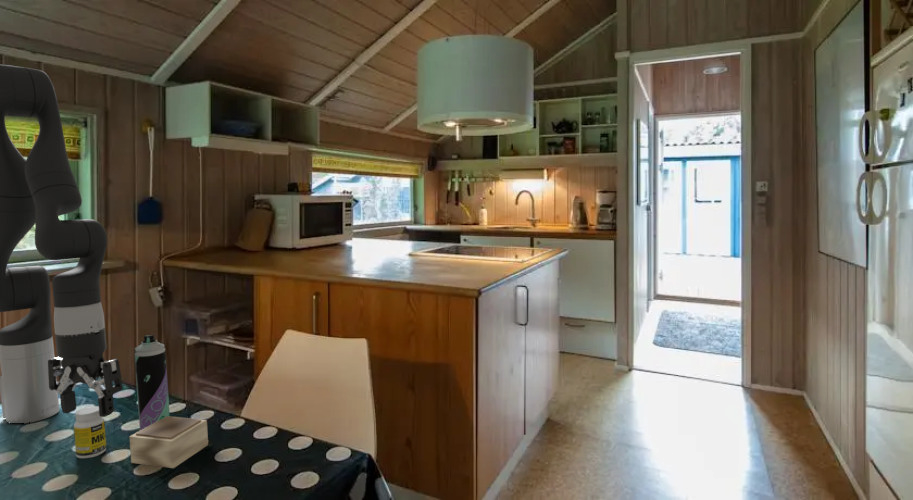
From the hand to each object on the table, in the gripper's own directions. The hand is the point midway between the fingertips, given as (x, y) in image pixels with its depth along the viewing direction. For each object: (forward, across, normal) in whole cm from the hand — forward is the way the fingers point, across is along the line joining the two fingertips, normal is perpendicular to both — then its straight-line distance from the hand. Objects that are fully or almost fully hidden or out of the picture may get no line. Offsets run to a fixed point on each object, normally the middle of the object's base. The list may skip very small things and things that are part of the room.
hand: (87, 413), depth 98 cm
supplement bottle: (+8, 0, 0) cm, 8 cm away
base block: (+8, +15, +4) cm, 17 cm away
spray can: (+8, +4, +12) cm, 14 cm away
